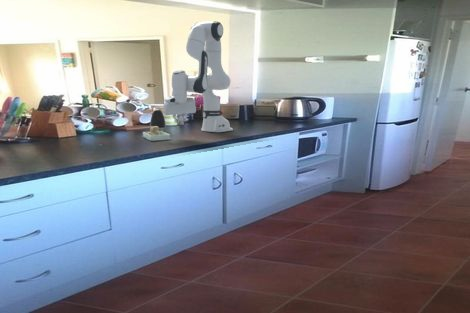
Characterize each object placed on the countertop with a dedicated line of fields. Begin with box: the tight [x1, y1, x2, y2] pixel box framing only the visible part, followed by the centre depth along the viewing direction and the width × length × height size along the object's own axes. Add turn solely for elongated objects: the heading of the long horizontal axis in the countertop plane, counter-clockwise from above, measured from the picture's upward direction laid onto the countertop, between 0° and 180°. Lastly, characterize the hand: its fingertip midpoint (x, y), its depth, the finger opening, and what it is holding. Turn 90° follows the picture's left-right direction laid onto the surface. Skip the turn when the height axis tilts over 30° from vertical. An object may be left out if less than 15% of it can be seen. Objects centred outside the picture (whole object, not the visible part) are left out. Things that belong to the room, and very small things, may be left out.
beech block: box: [149, 126, 159, 136], centre depth 222 cm, size 4×4×6 cm
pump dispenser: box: [149, 108, 167, 132], centre depth 240 cm, size 10×10×15 cm
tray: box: [142, 131, 171, 142], centre depth 219 cm, size 12×14×3 cm
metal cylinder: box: [176, 114, 185, 126], centre depth 220 cm, size 4×4×6 cm
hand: (180, 121), depth 221 cm, fingers closed on metal cylinder, 4 cm apart
